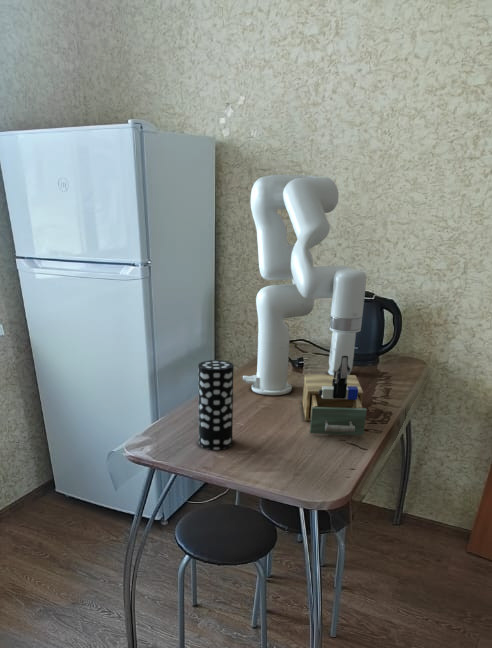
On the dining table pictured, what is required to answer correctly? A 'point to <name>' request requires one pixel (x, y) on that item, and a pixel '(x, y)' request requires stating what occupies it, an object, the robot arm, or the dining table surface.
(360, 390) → the cabinet
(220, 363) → the white-spotted black cylinder
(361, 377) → the dining table surface
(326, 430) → the drawer
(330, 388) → the white and blue block
